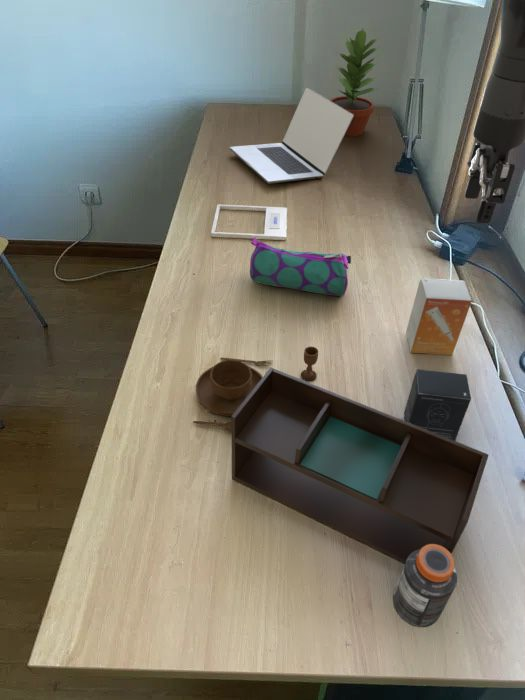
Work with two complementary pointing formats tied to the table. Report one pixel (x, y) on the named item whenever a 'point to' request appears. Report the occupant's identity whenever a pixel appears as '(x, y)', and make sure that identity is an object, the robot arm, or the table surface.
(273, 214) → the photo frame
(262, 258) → the pencil case
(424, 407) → the box
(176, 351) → the table surface
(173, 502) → the table surface
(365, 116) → the potted plant
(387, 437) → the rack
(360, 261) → the table surface
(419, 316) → the small box
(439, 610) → the pill bottle
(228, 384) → the place setting
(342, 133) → the laptop
